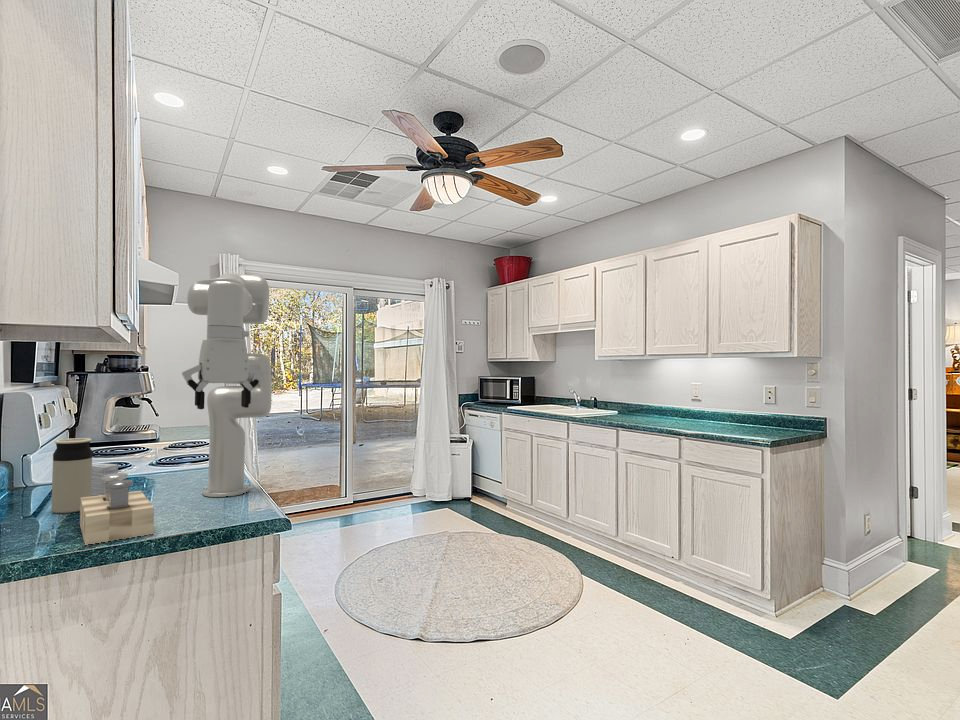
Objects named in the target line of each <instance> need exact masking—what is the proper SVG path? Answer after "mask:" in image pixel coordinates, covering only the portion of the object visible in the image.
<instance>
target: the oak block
mask: <svg viewBox="0 0 960 720" xmlns="http://www.w3.org/2000/svg"><path fill="white" fill-rule="evenodd" d="M154 512H155V507H154V505H153V504H152V503H151V502H150V500H149V499H148V497H147V496H146V495H145V494H144V492H142V490H135V491H134V490H133V491H129V493H128V508H121V509H114V510H109V500H108V501H105V495H99V496H91V497H82V498H80V511H79V526H80V530H81V531H80V532H81V534H82V539H83V543H85V544H84V546H85V545H87V546H89V545H88V544H93V545H96V544H95V543H99V544H102V543H101V542H105V543H109V542H108V541H111V542H115V541H114V540H117V541H120V540H119V539H123V540H126V539H125V538H129V539H131V538H130V537H135V538H138V537H137V536H141V537H145V536H144V535H147V536H150V535H149V534H153V535H154V518H155V517H154V516H155V513H154Z"/></svg>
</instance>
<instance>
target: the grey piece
mask: <svg viewBox="0 0 960 720" xmlns="http://www.w3.org/2000/svg"><path fill="white" fill-rule="evenodd" d="M132 486H134V480H132V479H123V480H119V481H111V482H107V483H105V488H106V489H109V510H114V509H121V508H128V493H129V492H130V491H129V487H132Z"/></svg>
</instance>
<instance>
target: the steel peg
mask: <svg viewBox="0 0 960 720" xmlns="http://www.w3.org/2000/svg"><path fill="white" fill-rule="evenodd" d="M128 476H129V473H126V472H118V473H114V474H106V475H102V476H101V481H105V483H107V482H111V481H119V480H127V478H128ZM108 500H109V489H106V488H105V501H108Z"/></svg>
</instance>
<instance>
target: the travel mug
mask: <svg viewBox="0 0 960 720" xmlns="http://www.w3.org/2000/svg"><path fill="white" fill-rule="evenodd" d="M91 442H92V438H88V437H76V438H74V437H73V438H71V437H70V438H62V439H61V438H60V439H57V440H55V441H54V443H55V444H56V449H55V451H54V452H53V453H52V477H51V478H52V480H51V481H52V483H51V510H50V511H51V512H52V513H53V514H54V513H55V514H71V513H78V512H80V498H82V497H91V479H92V464H93V450H92V448H91V445H90V443H91Z"/></svg>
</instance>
